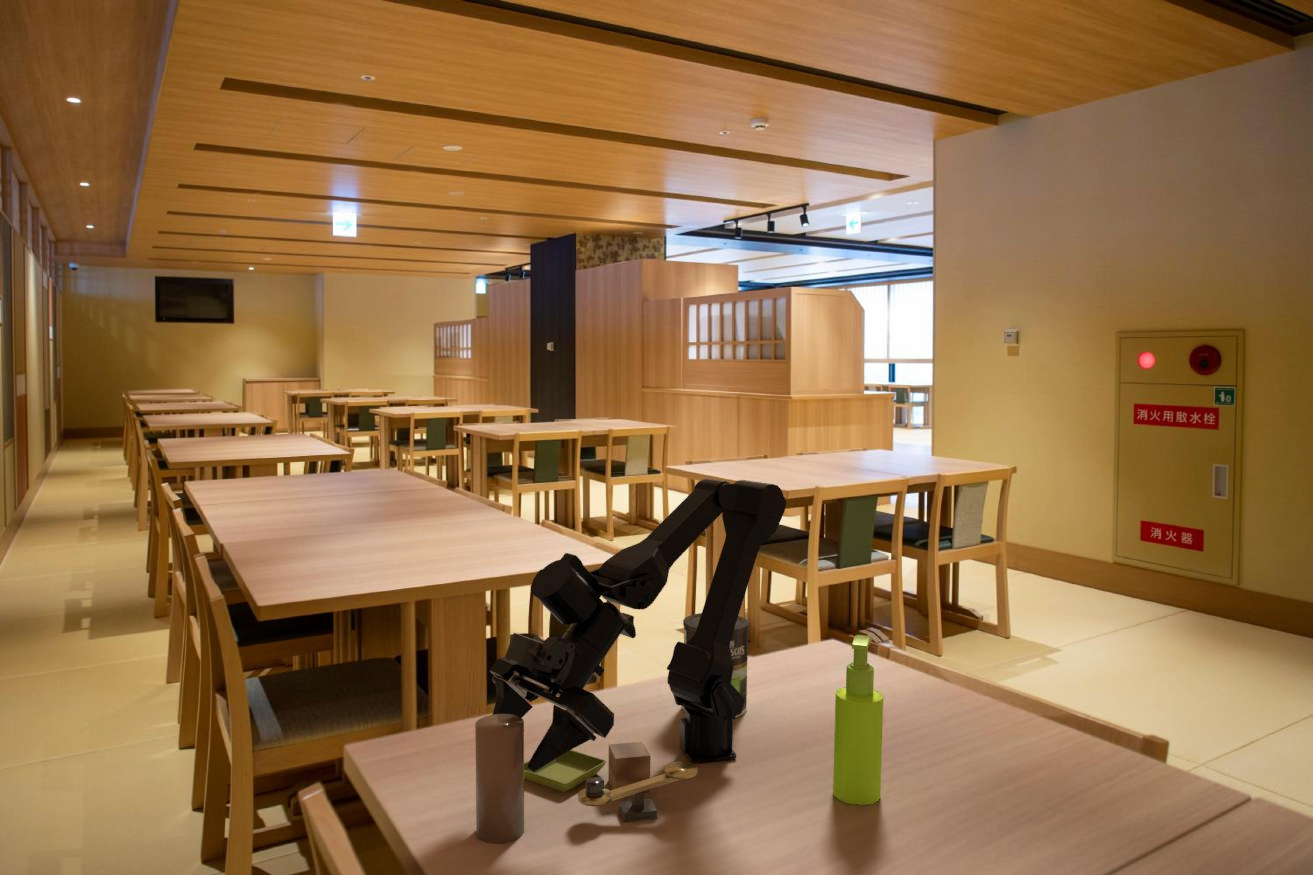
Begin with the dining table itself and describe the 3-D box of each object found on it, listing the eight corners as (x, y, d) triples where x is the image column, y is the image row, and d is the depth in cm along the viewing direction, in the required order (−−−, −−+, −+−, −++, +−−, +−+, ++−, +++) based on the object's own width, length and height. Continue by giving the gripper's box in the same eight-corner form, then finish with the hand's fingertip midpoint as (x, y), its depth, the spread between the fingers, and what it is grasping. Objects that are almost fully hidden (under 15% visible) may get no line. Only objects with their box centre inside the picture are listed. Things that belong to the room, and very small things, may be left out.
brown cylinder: (521, 817, 114) (521, 711, 113) (526, 840, 108) (526, 729, 107) (475, 822, 112) (474, 715, 111) (477, 845, 107) (476, 734, 106)
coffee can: (757, 716, 147) (759, 627, 145) (694, 723, 144) (695, 632, 142) (733, 694, 156) (735, 610, 155) (673, 699, 153) (674, 614, 152)
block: (642, 778, 125) (642, 741, 125) (650, 793, 121) (650, 755, 120) (608, 781, 124) (608, 744, 123) (615, 797, 120) (615, 758, 119)
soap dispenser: (883, 784, 123) (888, 634, 122) (877, 808, 117) (882, 649, 115) (837, 777, 125) (841, 629, 124) (829, 800, 119) (833, 644, 117)
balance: (691, 800, 119) (692, 759, 118) (700, 815, 115) (701, 773, 114) (575, 812, 115) (575, 770, 115) (580, 828, 111) (581, 785, 111)
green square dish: (514, 782, 124) (514, 766, 124) (557, 759, 131) (557, 744, 131) (565, 800, 119) (565, 784, 119) (608, 775, 126) (608, 760, 126)
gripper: (503, 592, 120) (424, 697, 113) (595, 624, 106) (511, 746, 99) (554, 642, 125) (481, 745, 119) (647, 678, 112) (571, 797, 105)
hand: (507, 756), depth 110 cm, fingers open, 9 cm apart
